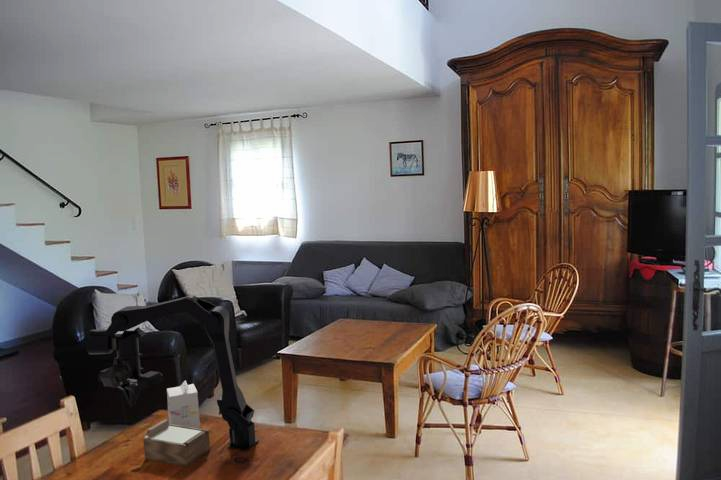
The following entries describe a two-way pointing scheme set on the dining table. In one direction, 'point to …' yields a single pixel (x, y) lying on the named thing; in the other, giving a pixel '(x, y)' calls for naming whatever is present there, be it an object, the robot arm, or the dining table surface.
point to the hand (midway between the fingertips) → (132, 406)
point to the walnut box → (178, 449)
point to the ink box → (183, 405)
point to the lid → (171, 433)
